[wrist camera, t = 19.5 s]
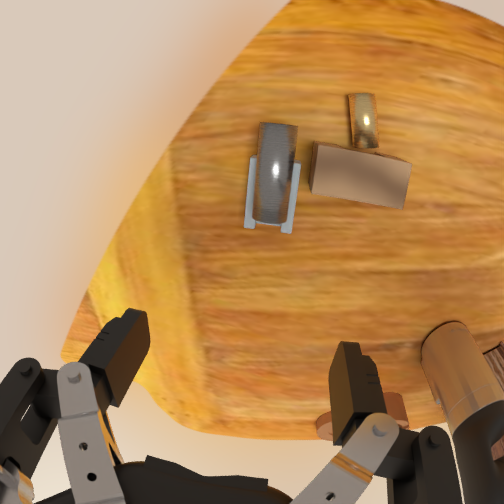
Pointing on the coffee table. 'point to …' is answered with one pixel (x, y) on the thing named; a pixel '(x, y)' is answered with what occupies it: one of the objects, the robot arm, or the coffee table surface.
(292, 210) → the cradle
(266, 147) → the axle
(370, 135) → the cylinder
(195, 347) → the coffee table surface
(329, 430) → the bracket
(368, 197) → the beam
